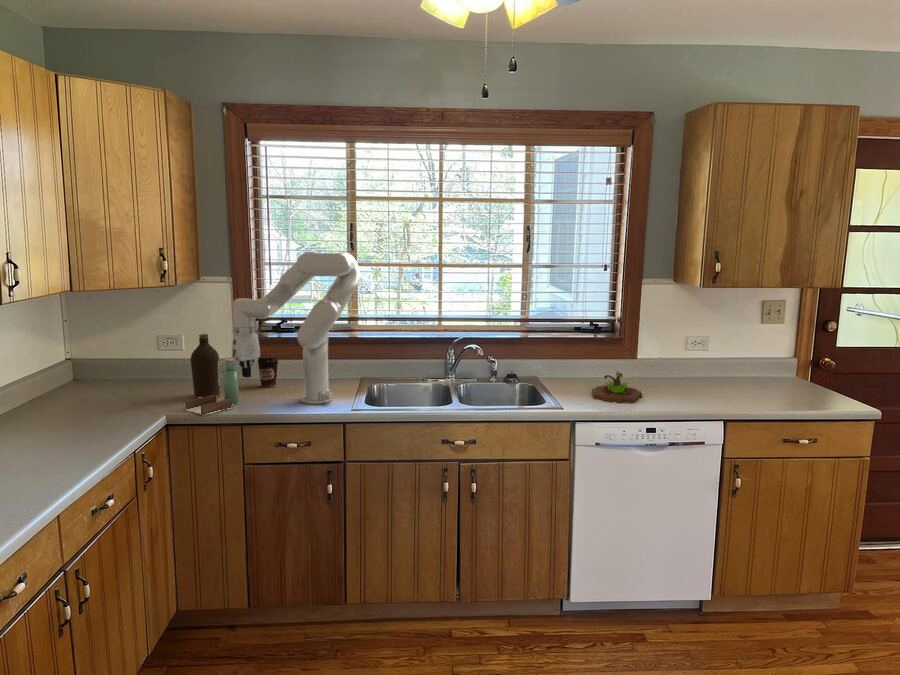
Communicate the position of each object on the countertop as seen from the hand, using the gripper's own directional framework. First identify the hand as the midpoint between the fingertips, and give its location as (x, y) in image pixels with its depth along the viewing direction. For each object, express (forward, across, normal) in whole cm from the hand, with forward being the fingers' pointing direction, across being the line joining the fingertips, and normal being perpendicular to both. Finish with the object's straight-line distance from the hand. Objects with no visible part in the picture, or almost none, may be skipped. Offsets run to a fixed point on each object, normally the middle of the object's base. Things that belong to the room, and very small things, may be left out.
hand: (246, 376), depth 251 cm
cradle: (+9, -17, 0) cm, 20 cm away
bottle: (+9, -7, 0) cm, 12 cm away
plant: (+9, +93, -115) cm, 148 cm away
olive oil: (+10, -6, +17) cm, 20 cm away
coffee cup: (+9, +18, +10) cm, 23 cm away
